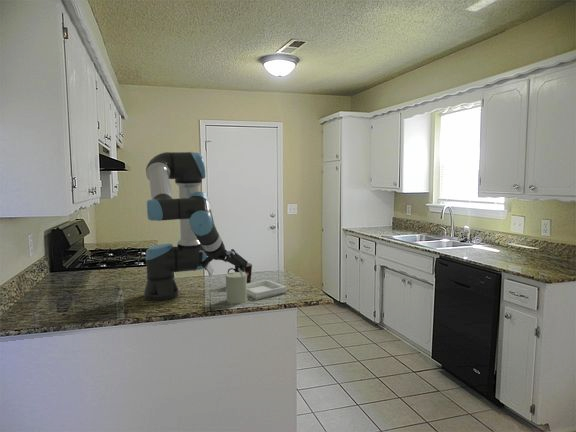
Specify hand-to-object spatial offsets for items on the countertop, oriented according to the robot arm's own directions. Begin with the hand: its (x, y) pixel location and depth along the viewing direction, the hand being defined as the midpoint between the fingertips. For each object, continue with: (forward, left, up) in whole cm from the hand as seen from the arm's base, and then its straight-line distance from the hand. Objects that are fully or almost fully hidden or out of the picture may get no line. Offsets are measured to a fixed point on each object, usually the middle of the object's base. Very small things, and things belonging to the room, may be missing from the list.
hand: (227, 273), depth 166 cm
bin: (+23, +10, -14) cm, 29 cm away
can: (+8, +7, -15) cm, 18 cm away
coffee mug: (+22, +28, -15) cm, 38 cm away
